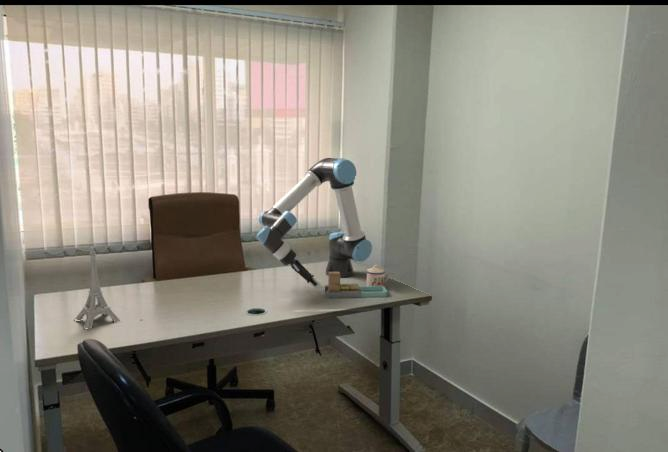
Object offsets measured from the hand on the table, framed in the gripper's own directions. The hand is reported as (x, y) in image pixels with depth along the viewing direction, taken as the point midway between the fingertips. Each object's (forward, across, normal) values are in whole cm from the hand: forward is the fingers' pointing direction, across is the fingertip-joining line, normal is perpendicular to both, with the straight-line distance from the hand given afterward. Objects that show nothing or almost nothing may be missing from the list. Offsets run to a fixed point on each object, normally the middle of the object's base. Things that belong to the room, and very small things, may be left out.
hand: (321, 289), depth 231 cm
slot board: (+10, 0, +5) cm, 11 cm away
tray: (+20, 0, +15) cm, 25 cm away
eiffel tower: (-61, +26, -67) cm, 94 cm away
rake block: (+6, 0, +3) cm, 7 cm away
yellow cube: (+13, 0, +9) cm, 16 cm away
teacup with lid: (+23, -12, +18) cm, 32 cm away
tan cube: (+10, 0, +6) cm, 11 cm away
